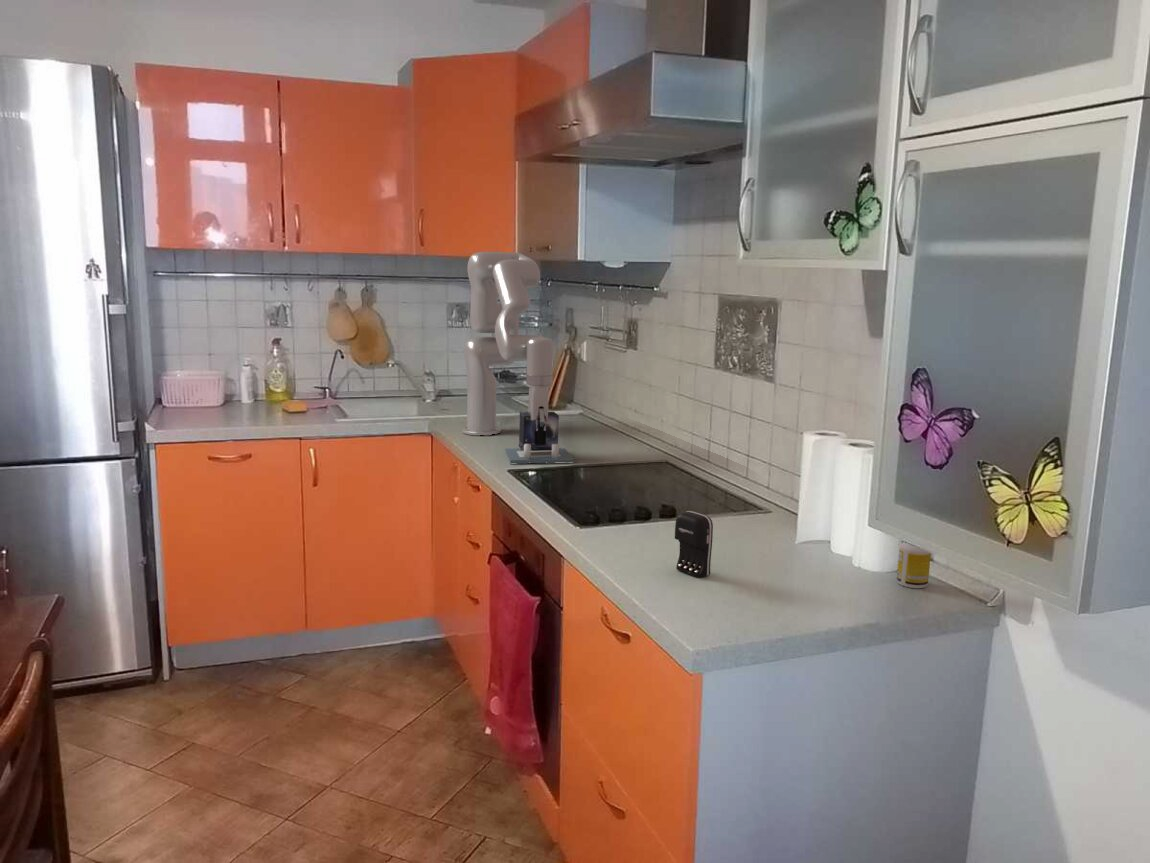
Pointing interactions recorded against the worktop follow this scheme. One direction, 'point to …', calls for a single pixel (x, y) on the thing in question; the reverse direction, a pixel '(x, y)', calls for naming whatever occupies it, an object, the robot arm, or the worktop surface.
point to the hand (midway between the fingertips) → (538, 441)
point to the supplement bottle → (913, 566)
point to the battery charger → (694, 543)
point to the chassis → (538, 455)
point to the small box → (529, 430)
